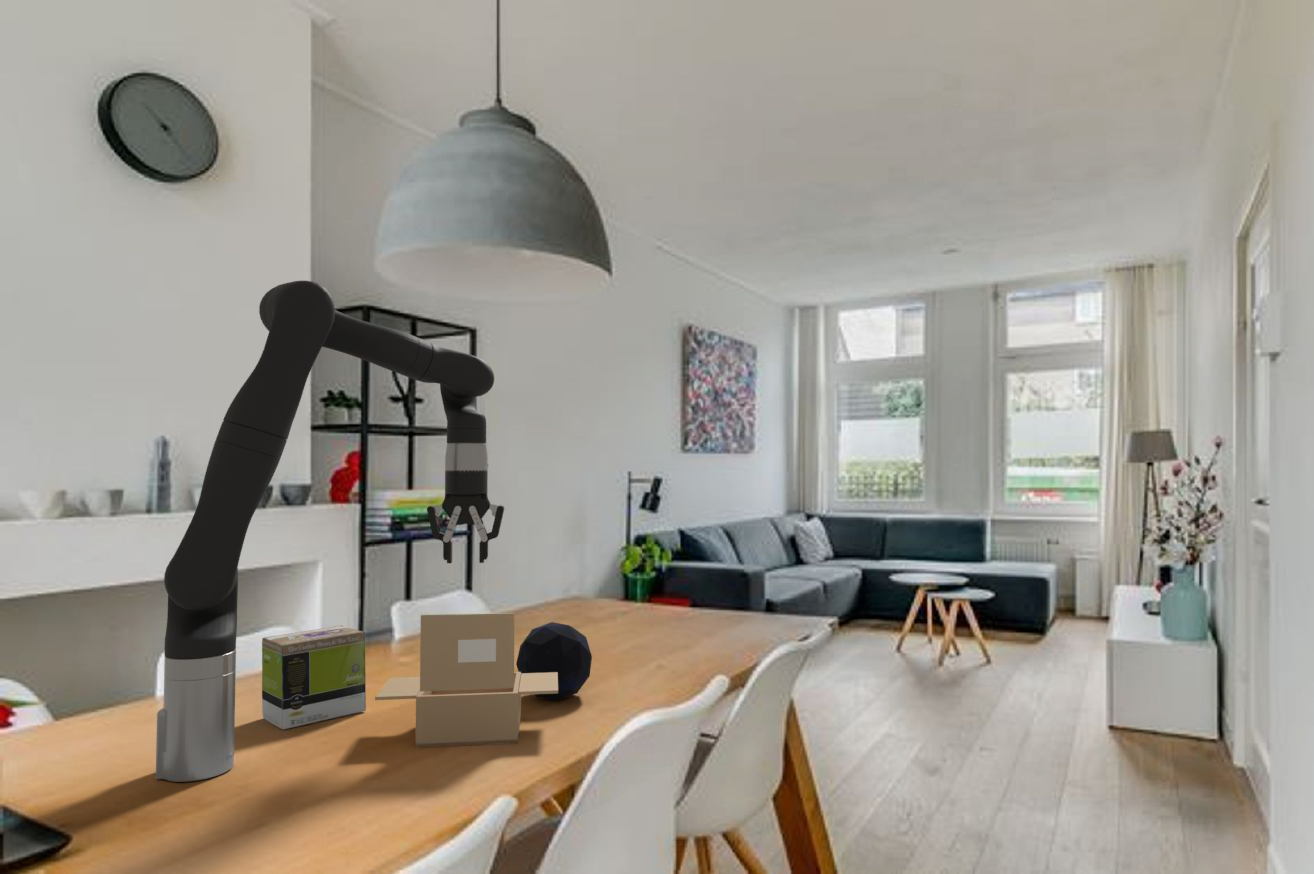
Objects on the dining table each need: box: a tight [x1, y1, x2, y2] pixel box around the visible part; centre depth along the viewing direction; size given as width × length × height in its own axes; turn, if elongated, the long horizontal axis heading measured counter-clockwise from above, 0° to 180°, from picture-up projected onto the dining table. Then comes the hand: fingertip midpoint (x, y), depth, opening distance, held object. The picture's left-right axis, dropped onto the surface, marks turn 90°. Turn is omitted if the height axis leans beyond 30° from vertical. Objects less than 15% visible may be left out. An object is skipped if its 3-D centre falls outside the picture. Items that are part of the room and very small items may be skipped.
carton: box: [374, 671, 558, 749], centre depth 138 cm, size 29×15×8 cm, turn 97°
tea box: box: [261, 625, 367, 730], centre depth 147 cm, size 15×10×15 cm
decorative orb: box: [515, 621, 593, 702], centre depth 158 cm, size 14×15×15 cm
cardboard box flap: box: [419, 612, 516, 691], centre depth 131 cm, size 15×1×12 cm, turn 97°
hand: (465, 562), depth 147 cm, fingers open, 5 cm apart
